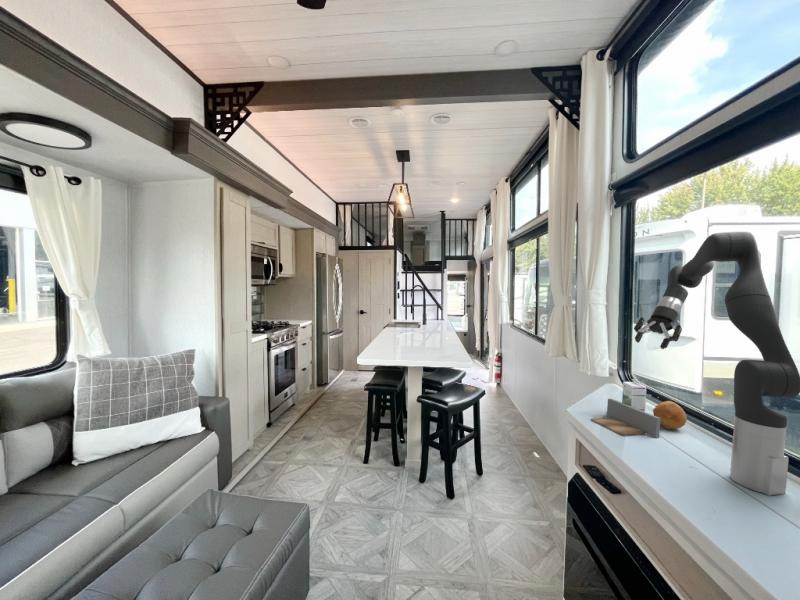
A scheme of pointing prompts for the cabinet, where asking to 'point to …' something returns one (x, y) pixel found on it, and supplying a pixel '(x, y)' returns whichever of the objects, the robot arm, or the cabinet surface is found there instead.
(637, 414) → the grey barrier panel
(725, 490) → the cabinet surface
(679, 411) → the onion
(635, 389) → the syrup box
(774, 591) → the cabinet surface
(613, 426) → the walnut pad
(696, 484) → the cabinet surface
